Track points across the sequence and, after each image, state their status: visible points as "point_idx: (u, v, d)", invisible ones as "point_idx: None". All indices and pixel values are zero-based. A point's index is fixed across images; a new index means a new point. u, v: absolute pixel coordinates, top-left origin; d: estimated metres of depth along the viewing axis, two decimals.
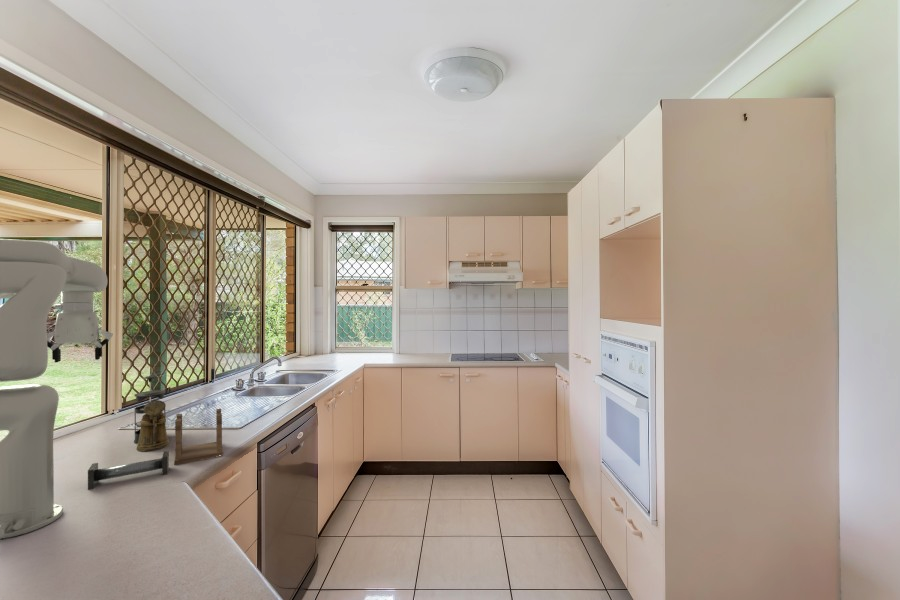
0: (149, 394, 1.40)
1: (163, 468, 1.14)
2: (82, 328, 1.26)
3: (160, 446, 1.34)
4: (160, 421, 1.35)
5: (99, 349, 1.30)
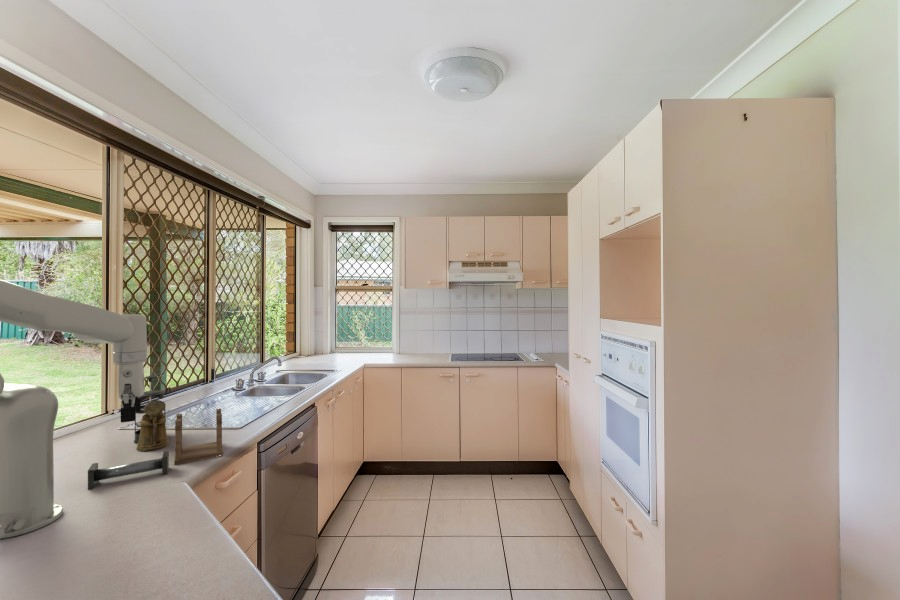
0: (149, 394, 1.40)
1: (163, 468, 1.14)
2: (143, 377, 1.15)
3: (160, 446, 1.34)
4: (160, 421, 1.35)
5: None
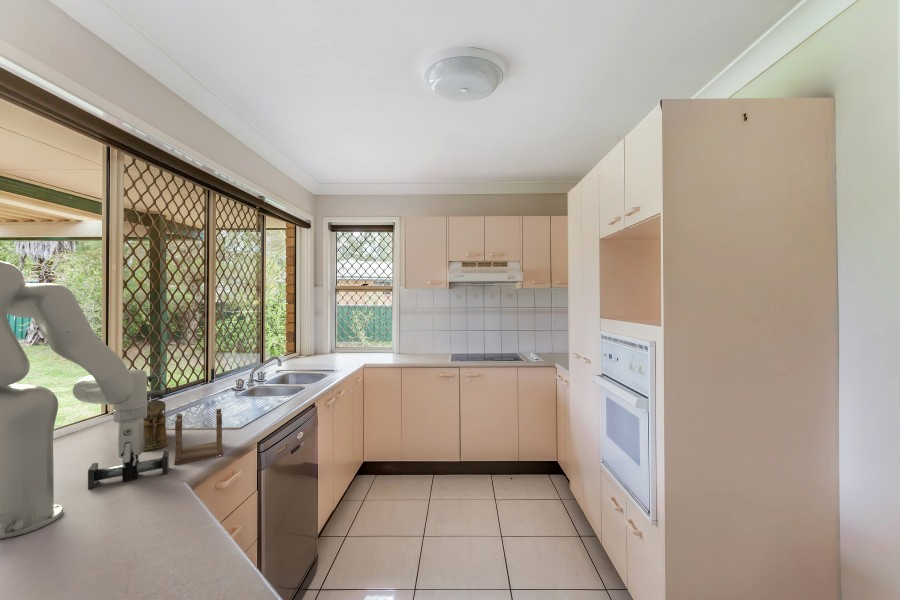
0: (149, 394, 1.40)
1: (163, 468, 1.14)
2: (143, 432, 1.15)
3: (160, 446, 1.34)
4: (160, 421, 1.35)
5: (135, 462, 1.15)
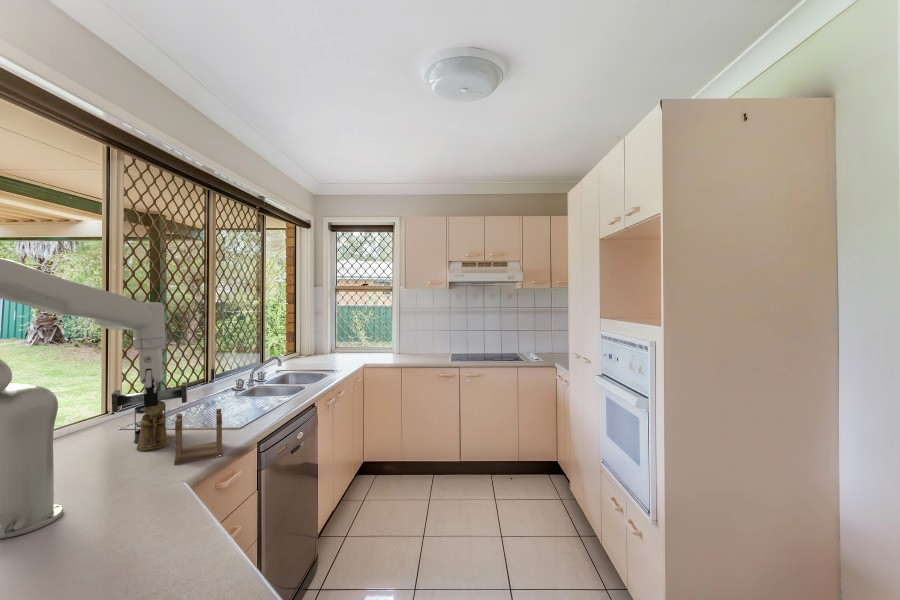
0: None
1: (182, 396, 1.19)
2: (162, 363, 1.19)
3: (160, 446, 1.34)
4: (160, 421, 1.35)
5: (155, 391, 1.19)
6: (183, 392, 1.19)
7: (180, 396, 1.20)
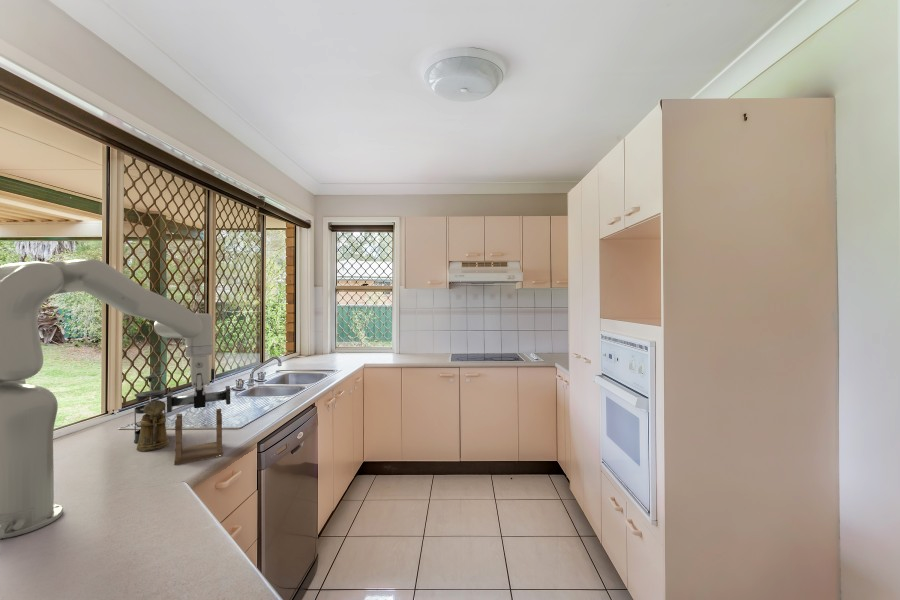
0: (149, 394, 1.40)
1: (227, 398, 1.31)
2: None
3: (160, 446, 1.34)
4: (160, 421, 1.35)
5: None
6: (227, 395, 1.31)
7: (224, 398, 1.32)
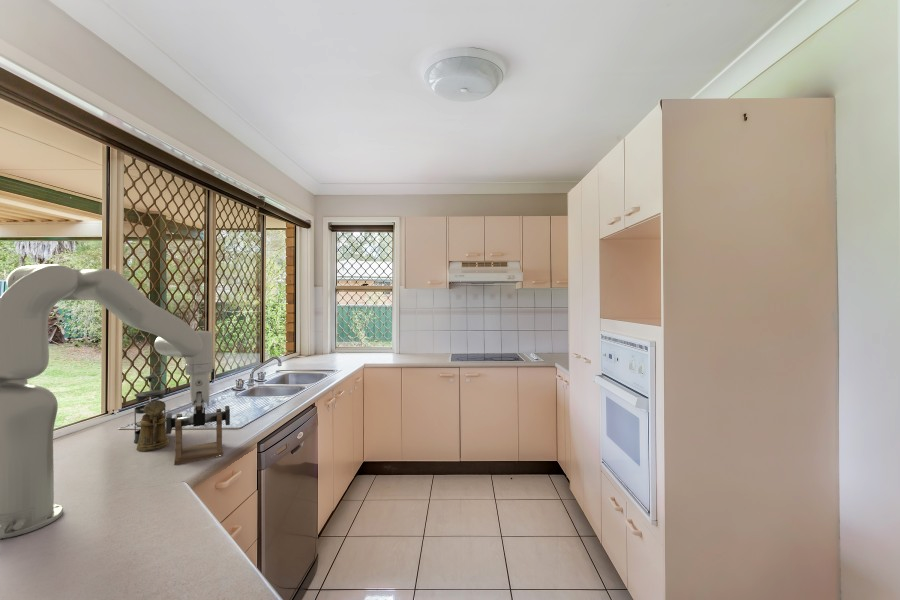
0: (149, 394, 1.40)
1: (226, 419, 1.31)
2: None
3: (160, 446, 1.34)
4: (160, 421, 1.35)
5: None
6: (227, 415, 1.31)
7: (224, 419, 1.32)
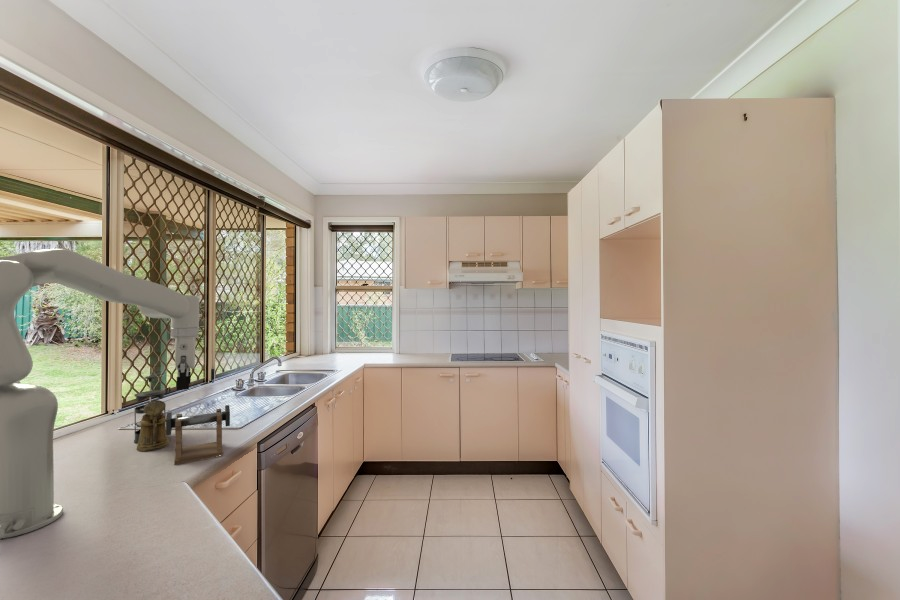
0: (149, 394, 1.40)
1: (226, 421, 1.31)
2: None
3: (160, 446, 1.34)
4: (160, 421, 1.35)
5: (187, 373, 1.31)
6: (227, 417, 1.31)
7: (224, 419, 1.32)
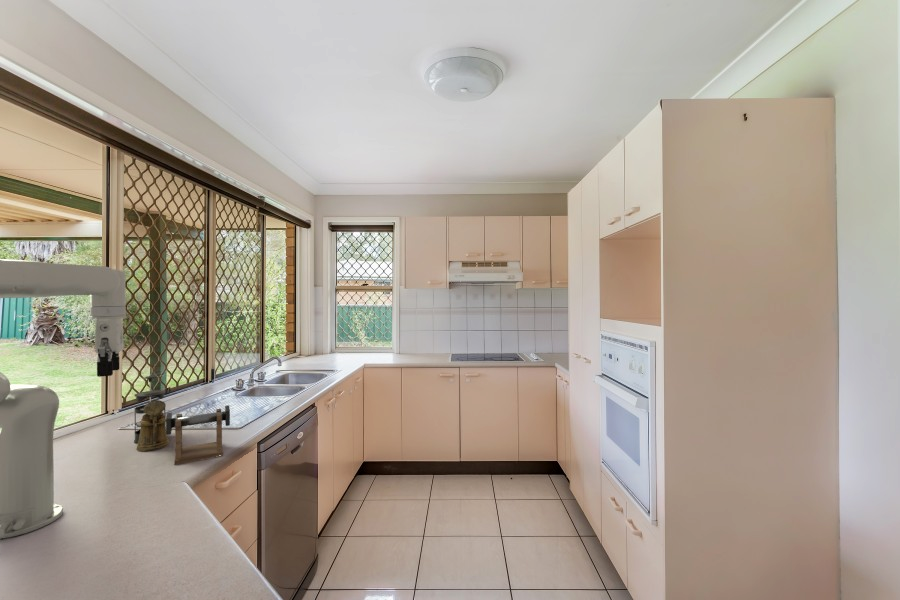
0: (149, 394, 1.40)
1: (226, 420, 1.31)
2: (122, 334, 1.14)
3: (160, 446, 1.34)
4: (160, 421, 1.35)
5: None
6: (227, 416, 1.31)
7: (224, 419, 1.32)
